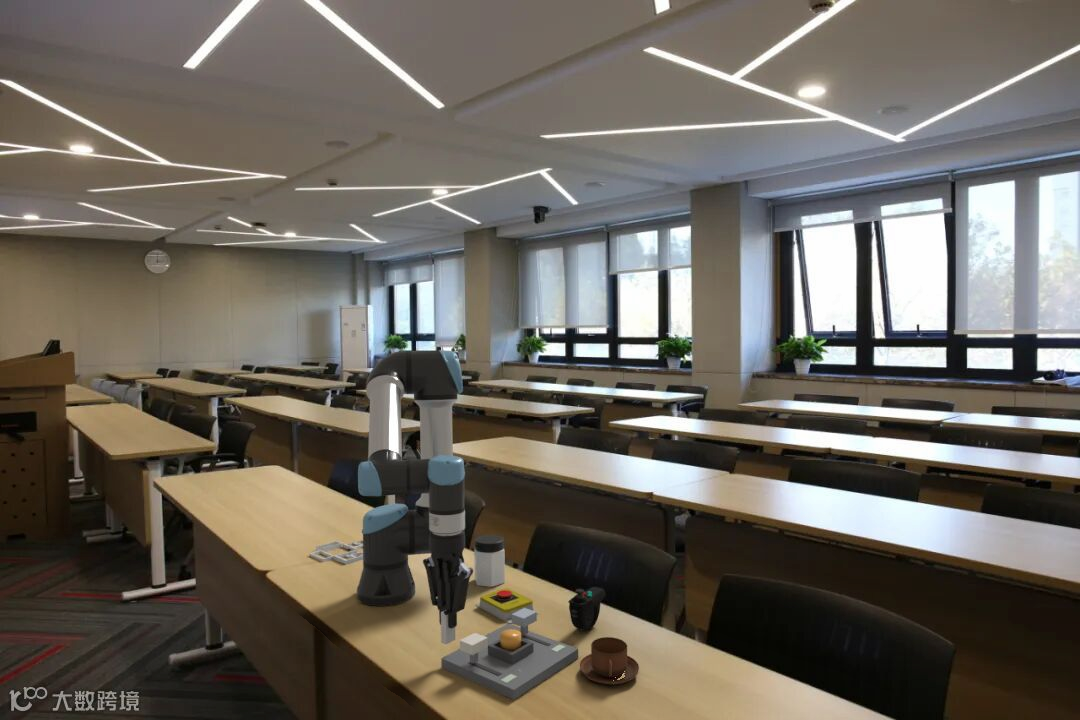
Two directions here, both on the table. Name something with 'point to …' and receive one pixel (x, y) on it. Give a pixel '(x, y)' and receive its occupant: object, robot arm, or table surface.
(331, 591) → the table surface
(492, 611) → the emergency button
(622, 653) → the cup and saucer
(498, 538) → the jar
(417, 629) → the table surface
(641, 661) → the table surface
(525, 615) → the slate lever
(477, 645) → the off-white rectangular box
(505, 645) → the amber button
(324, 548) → the floor plan model
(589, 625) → the controller
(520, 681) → the control panel
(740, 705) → the table surface
